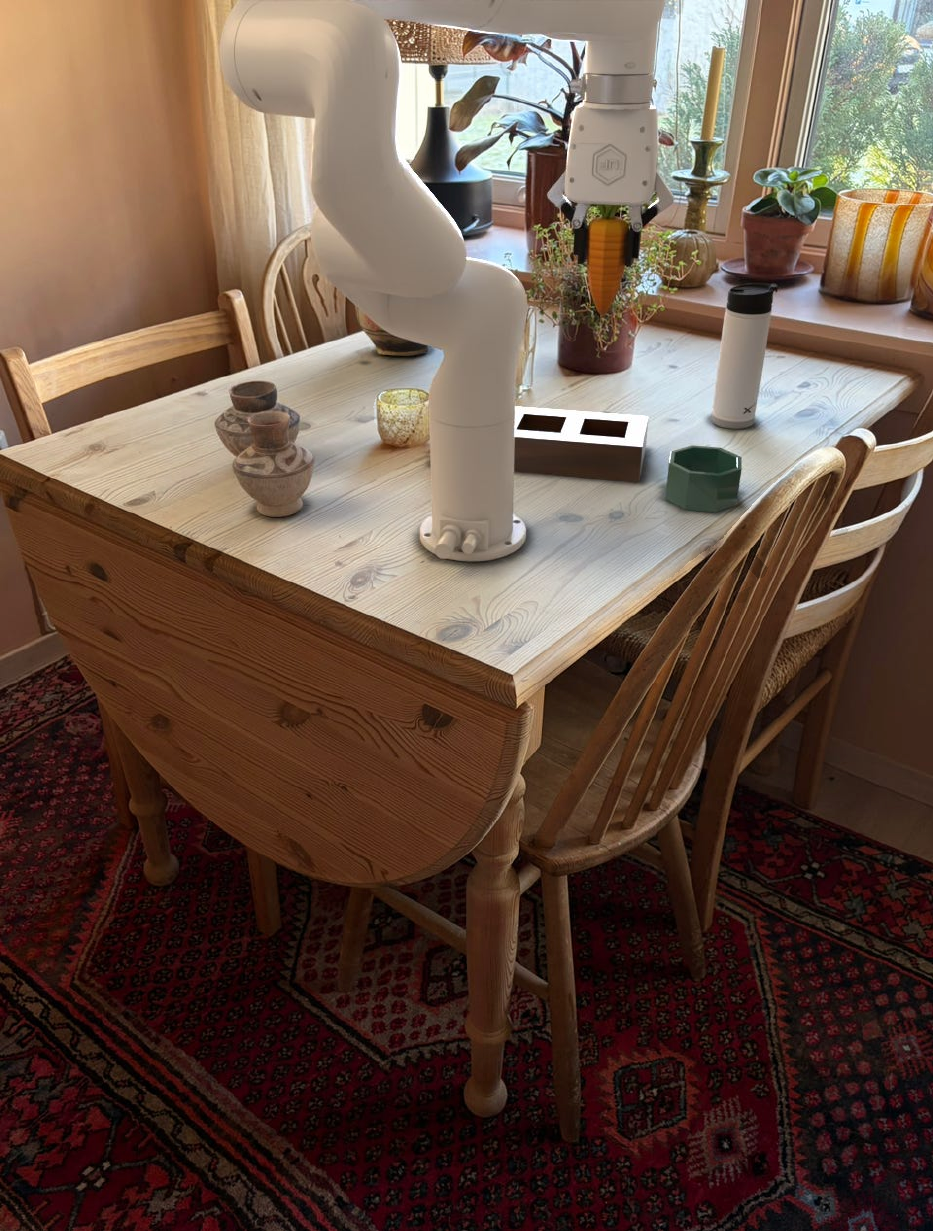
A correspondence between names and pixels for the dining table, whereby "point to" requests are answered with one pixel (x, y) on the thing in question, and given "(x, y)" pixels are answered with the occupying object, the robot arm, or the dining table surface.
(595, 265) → the carrot
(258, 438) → the pottery
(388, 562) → the dining table surface
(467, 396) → the robot arm
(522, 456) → the rack
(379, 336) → the ceramic jug
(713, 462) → the holder
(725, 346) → the travel mug
